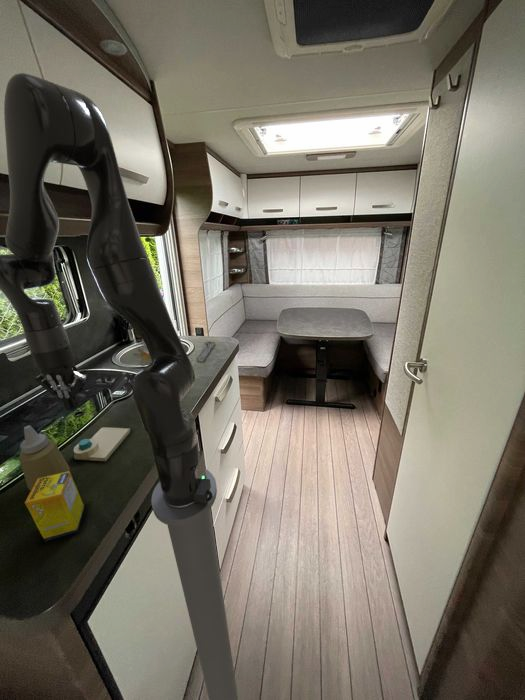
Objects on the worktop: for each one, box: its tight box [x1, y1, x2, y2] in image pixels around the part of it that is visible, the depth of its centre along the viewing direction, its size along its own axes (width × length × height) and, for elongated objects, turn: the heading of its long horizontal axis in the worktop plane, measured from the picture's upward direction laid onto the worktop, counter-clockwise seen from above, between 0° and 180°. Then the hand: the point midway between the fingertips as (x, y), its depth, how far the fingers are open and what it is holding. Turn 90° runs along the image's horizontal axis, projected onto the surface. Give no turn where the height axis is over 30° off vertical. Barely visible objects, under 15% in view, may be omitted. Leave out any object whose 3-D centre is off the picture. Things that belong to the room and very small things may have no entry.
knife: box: [198, 341, 215, 363], centre depth 141 cm, size 25×1×5 cm
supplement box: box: [24, 470, 85, 542], centre depth 56 cm, size 6×6×11 cm
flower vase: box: [132, 337, 181, 367], centre depth 98 cm, size 13×18×25 cm
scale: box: [73, 426, 131, 462], centre depth 79 cm, size 13×9×3 cm
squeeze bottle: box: [18, 424, 70, 492], centre depth 63 cm, size 8×8×18 cm
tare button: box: [78, 438, 91, 450], centre depth 75 cm, size 3×3×2 cm
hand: (72, 408), depth 70 cm, fingers closed
